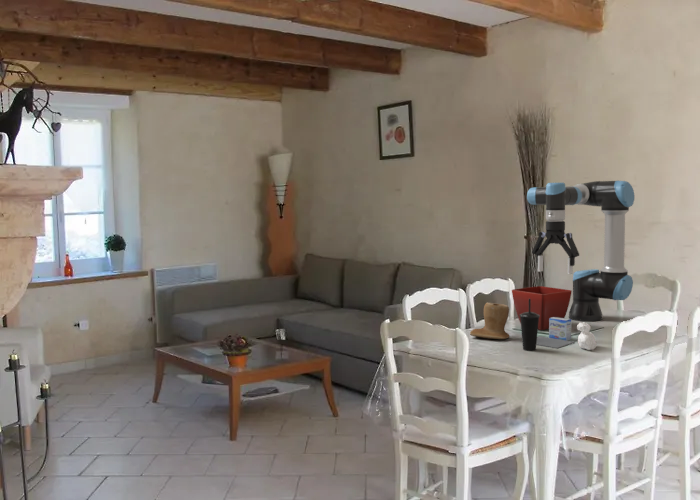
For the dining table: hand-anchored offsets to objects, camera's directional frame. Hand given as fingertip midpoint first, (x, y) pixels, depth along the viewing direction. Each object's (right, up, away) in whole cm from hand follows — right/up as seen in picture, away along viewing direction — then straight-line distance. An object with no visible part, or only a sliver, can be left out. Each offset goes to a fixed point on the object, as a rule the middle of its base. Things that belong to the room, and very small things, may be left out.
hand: (554, 272), depth 282 cm
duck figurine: (+9, -29, -12) cm, 33 cm away
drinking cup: (-14, -30, -13) cm, 35 cm away
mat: (-3, -28, -2) cm, 29 cm away
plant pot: (+2, -26, +29) cm, 39 cm away
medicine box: (+3, -28, +4) cm, 28 cm away
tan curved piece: (-24, -28, +9) cm, 38 cm away
